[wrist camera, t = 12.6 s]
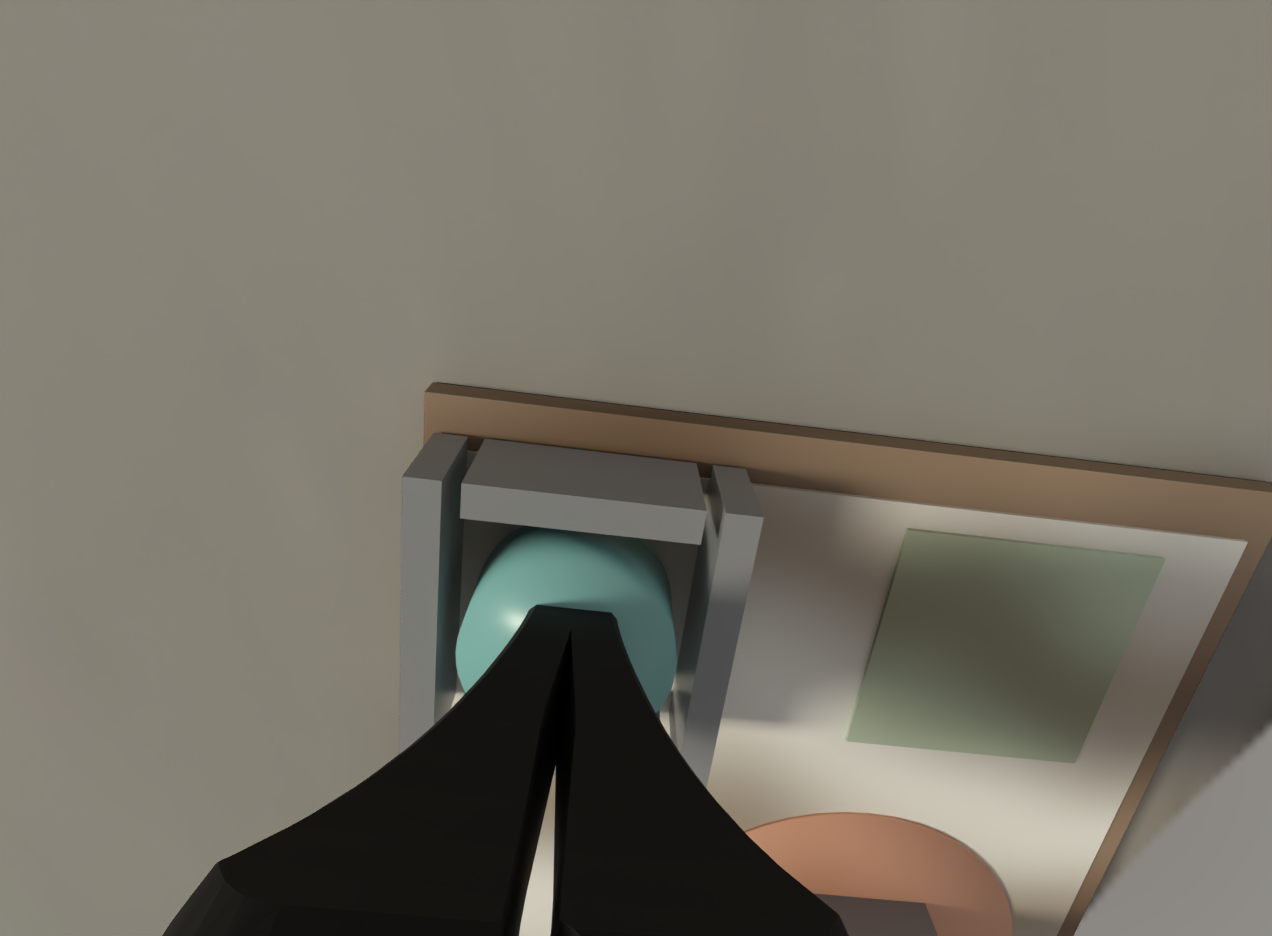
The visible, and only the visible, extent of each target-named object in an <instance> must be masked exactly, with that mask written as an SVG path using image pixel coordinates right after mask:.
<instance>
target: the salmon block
mask: <svg viewBox="0 0 1272 936" xmlns="http://www.w3.org/2000/svg"><path fill="white" fill-rule="evenodd" d="M813 894H814V893H813ZM815 895H816V896H817V897H818V898H819V899H821V900H822V901H823V902H824V903H826V904H827V905H828V906H829V907H830V908H832V909H833V910H834V911H835V912H837V913H838V914H839V916H840V917H841V919H842V921H843V924H844V926H845V928H846V930H847V933H848V935H849V936H938V935H937V932H936V930H935V927H934V925H933V922H932V920H931V917H930V915H929V912H928V909H927V907H926V904H925V903H918V902H906V901H895V900H883V899H872V898H860V897H849V896H837V895H826V894H815Z"/></svg>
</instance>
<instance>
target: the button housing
mask: <svg viewBox="0 0 1272 936" xmlns="http://www.w3.org/2000/svg"><path fill="white" fill-rule="evenodd" d="M467 445H468V437H467V436H458V435H450V434H441V433H433V434H432V436H431V437H430V439H429V440H428V441H427V443H426V444H425V446H424V447H423V448H422V450H421V451H420V452H419V454H418V455H417V457H416V458H415V459H414V461H413V462H412V464H411V465H410V466H409V468H408V469H407V470H406V472H405V473H404V475H403V476H402V526H401V613H400V700H399V754H400V753H401V752H403V751H404V750H405V749H407V748H408V747H409V746H410V745H412V744H413V743H414V742H415V741H416V740H417V739H419V738H420V737H421V736H422V735H423V734H424V733H425V732H427V731H428V730H429V729H430V728H431V727H432V726H433V725H434V724H435V723H437V722H438V721H439V720H440V719H441V718H442V717H443V716H444V715H445V714H446V713H447V712H448V711H449V710H450V709H451V706H452V703H453V700H454V697H455V694H456V684H457V666H456V645H457V638H458V635H459V619H460V597H461V575H462V554H463V532H464V519H470V520H479V521H488V522H497V523H506V524H515V525H524V526H534V527H543V528H552V529H561V530H570V531H579V532H588V533H597V534H606V535H615V536H624V537H633V538H642V539H651V540H660V541H669V542H678V543H688V544H697V545H699V546H698V552H697V558H696V563H695V569H694V574H693V580H692V586H691V591H690V597H689V602H688V608H687V614H686V619H685V625H684V630H683V636H682V642H681V647H680V653H679V658H678V664H677V670H676V675H675V681H674V686H673V692H672V698H671V703H670V709H669V724H670V738H671V740H672V741H673V743H674V744H675V746H676V747H677V749H678V750H679V752H680V753H681V755H682V756H683V758H684V759H685V760H686V762H687V763H688V765H689V766H690V767H691V769H692V770H693V772H694V773H695V774H696V776H697V777H698V778H699V780H700V781H701V782H702V783H703V785H704V786H705V787H706V788H707V783H708V779H709V774H710V769H711V765H712V760H713V755H714V750H715V746H716V741H717V736H718V732H719V727H720V722H721V717H722V713H723V708H724V703H725V698H726V694H727V689H728V684H729V680H730V675H731V670H732V665H733V661H734V656H735V651H736V646H737V642H738V637H739V632H740V628H741V623H742V618H743V613H744V609H745V604H746V599H747V595H748V590H749V585H750V580H751V576H752V571H753V566H754V561H755V557H756V552H757V547H758V543H759V538H760V533H761V528H762V524H763V519H764V517H763V514H762V511H761V508H760V506H759V503H758V500H757V498H756V495H755V492H754V490H753V487H752V484H751V482H750V479H749V476H748V474H747V471H746V469H742V468H734V467H725V466H716V465H713V468H712V474H711V479H710V485H709V490H708V496H707V502H706V504H705V500H704V495H703V491H702V486H701V481H700V477H699V472H698V467H697V463H691V462H682V461H673V460H665V459H656V458H648V457H639V456H630V455H622V454H613V453H605V452H596V451H587V450H579V449H570V448H562V447H553V446H544V445H536V444H527V443H519V442H510V441H501V440H493V439H484V441H483V443H482V445H481V447H480V449H479V451H478V453H477V455H476V456H475V458H474V460H473V462H472V464H471V466H470V468H469V470H468V472H467V474H466V467H467ZM656 714H657V716H658V718H659V719H660V709H659V710H658V712H657V713H656ZM553 776H556V766H555V770H554V775H553Z"/></svg>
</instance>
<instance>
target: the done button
mask: <svg viewBox="0 0 1272 936" xmlns="http://www.w3.org/2000/svg"><path fill="white" fill-rule="evenodd" d="M535 605H544V606H554V607H563V608H573V609H582V610H593V611H603V612H611V613H612V614H613V615H614V616H615V618H616V619H617V622H618V627H619V630H620V634H621V637H622V640H623V643H624V646H625V648H626V651H627V654H628V656H629V659H630V661H631V664H632V666H633V668H634V670H635V673H636V675H637V677H638V679H639V681H640V683H641V685H642V687H643V689H644V691H645V694H646V696H647V698H648V700H649V701H650V703H651V705H652V707H653V709H654V711H655V713H657V712H658V710H659V709H660V708H661V707H662V705H663V704H664V702H665V700H666V699H667V697H668V695H669V693H670V691H671V688H672V686H673V682H674V679H675V675H676V666H677V655H676V642H675V632H674V621H673V610H672V599H671V590H670V585H669V581H668V578H667V575H666V573H665V570H664V568H663V566H662V564H661V563H660V561H659V559H658V558H657V557H656V555H655V554H654V553H653V551H652V550H651V549H650V548H649V547H648V546H647V545H646V544H645V543H644V542H643V541H642V540H641V539H639V538H633V537H624V536H615V535H606V534H597V533H588V532H579V531H570V530H561V529H552V528H543V527H534V526H523V527H521V528H519V529H517V530H516V531H514V532H513V533H511V534H510V535H508V536H507V537H506V538H505V539H504V540H502V541H501V542H500V543H499V544H498V545H497V547H496V548H495V549H494V550H493V551H492V553H491V554H490V556H489V557H488V559H487V560H486V562H485V564H484V566H483V568H482V570H481V573H480V576H479V578H478V581H477V584H476V587H475V589H474V592H473V595H472V598H471V600H470V603H469V606H468V609H467V611H466V614H465V617H464V620H463V622H462V625H461V628H460V631H459V635H458V638H457V645H456V666H457V671H458V676H459V679H460V682H461V684H462V687H463V689H464V691H465V693H466V692H467V691H468V690H469V689H470V688H471V687H472V686H473V685H474V684H475V683H476V682H477V681H478V679H479V678H480V677H481V676H482V675H483V674H484V673H485V671H486V670H487V669H488V668H489V666H490V665H491V664H492V663H493V661H494V660H495V659H496V658H497V656H498V655H499V654H500V653H501V652H502V650H503V649H504V648H505V646H506V645H507V644H508V642H509V641H510V639H511V638H512V637H513V635H514V634H515V632H516V631H517V629H518V628H519V626H520V625H521V623H522V622H523V620H524V618H525V617H526V615H527V613H528V611H529V610H530V609H531V608H532V607H534V606H535Z"/></svg>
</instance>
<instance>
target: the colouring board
mask: <svg viewBox="0 0 1272 936" xmlns="http://www.w3.org/2000/svg"><path fill="white" fill-rule="evenodd" d="M433 433H441V434H450V435H458V436H467V437H468V445H467V467H466V474H467V472H468V470H469V468H470V466H471V464H472V462H473V460H474V458H475V456H476V455H477V453H478V451H479V449H480V447H481V445H482V443H483V441H484V439H493V440H501V441H510V442H519V443H527V444H536V445H544V446H553V447H562V448H570V449H579V450H587V451H596V452H605V453H613V454H622V455H630V456H639V457H648V458H656V459H665V460H673V461H682V462H691V463H697V467H698V472H699V477H700V481H701V486H702V491H703V495H704V500H705V504H706V502H707V496H708V490H709V485H710V479H711V474H712V468H713V465H716V466H725V467H734V468H742V469H746V471H747V474H748V476H749V479H750V482H751V484H752V487H753V490H754V492H755V495H756V498H757V500H758V503H759V506H760V508H761V511H762V514H763V517H764V519H763V524H762V528H761V533H760V538H759V543H758V547H757V552H756V557H755V561H754V566H753V571H752V576H751V580H750V585H749V590H748V595H747V599H746V604H745V609H744V613H743V618H742V623H741V628H740V632H739V637H738V642H737V646H736V651H735V656H734V661H733V665H732V670H731V675H730V680H729V684H728V689H727V694H726V698H725V703H724V708H723V713H722V717H721V722H720V727H719V732H718V736H717V741H716V746H715V750H714V755H713V760H712V765H711V769H710V774H709V779H708V783H707V788H706V789H707V790H708V791H709V792H710V794H711V795H712V796H713V797H714V799H715V800H716V801H717V802H718V803H719V804H720V806H721V807H722V808H723V809H724V810H725V811H726V812H727V813H728V814H729V815H730V816H731V818H732V819H733V820H734V821H735V822H736V823H737V824H738V825H739V826H740V827H741V829H742V830H743V831H744V832H745V833H746V834H747V835H748V836H749V837H750V838H751V839H752V840H753V841H754V842H755V843H756V844H757V845H758V846H759V847H760V848H761V849H762V850H763V851H764V852H766V853H767V854H768V855H769V856H770V857H771V858H772V859H773V860H774V861H775V862H776V863H777V864H778V865H779V866H780V867H782V868H783V869H784V870H785V871H786V872H787V873H789V874H790V875H791V876H792V877H794V878H795V879H796V880H797V881H799V882H800V883H801V884H802V885H803V886H805V887H806V888H807V889H808V890H810V891H811V892H812V893H814V894H826V895H837V896H849V897H860V898H872V899H883V900H895V901H906V902H918V903H925V904H926V907H927V909H928V912H929V915H930V917H931V920H932V922H933V925H934V927H935V930H936V932H937V935H938V936H1073V935H1074V933H1075V931H1076V929H1077V927H1078V925H1079V923H1080V921H1081V919H1082V917H1083V915H1084V913H1085V911H1086V909H1087V907H1088V905H1089V903H1090V901H1091V899H1092V897H1093V895H1094V893H1095V891H1096V889H1097V887H1098V885H1099V883H1100V881H1101V879H1102V877H1103V875H1104V873H1105V871H1106V869H1107V867H1108V865H1109V863H1110V861H1111V859H1112V857H1113V855H1114V853H1115V851H1116V849H1117V847H1118V845H1119V843H1120V841H1121V839H1122V837H1123V835H1124V833H1125V831H1126V829H1127V827H1128V825H1129V823H1130V821H1131V819H1132V817H1133V815H1134V813H1135V811H1136V809H1137V807H1138V805H1139V803H1140V801H1141V799H1142V797H1143V795H1144V793H1145V791H1146V789H1147V787H1148V785H1149V783H1150V781H1151V779H1152V777H1153V775H1154V773H1155V771H1156V769H1157V767H1158V765H1159V763H1160V761H1161V759H1162V756H1163V754H1164V752H1165V750H1166V748H1167V746H1168V744H1169V742H1170V740H1171V738H1172V736H1173V734H1174V732H1175V730H1176V728H1177V726H1178V724H1179V722H1180V720H1181V718H1182V716H1183V714H1184V712H1185V710H1186V708H1187V706H1188V704H1189V702H1190V700H1191V698H1192V696H1193V694H1194V692H1195V690H1196V688H1197V686H1198V684H1199V682H1200V680H1201V678H1202V676H1203V674H1204V672H1205V670H1206V668H1207V666H1208V664H1209V662H1210V660H1211V658H1212V656H1213V654H1214V652H1215V650H1216V648H1217V646H1218V644H1219V642H1220V640H1221V638H1222V636H1223V634H1224V632H1225V630H1226V628H1227V626H1228V624H1229V622H1230V620H1231V618H1232V616H1233V614H1234V612H1235V610H1236V608H1237V606H1238V604H1239V602H1240V600H1241V598H1242V596H1243V594H1244V592H1245V590H1246V588H1247V586H1248V584H1249V582H1250V580H1251V578H1252V576H1253V574H1254V572H1255V570H1256V568H1257V566H1258V564H1259V562H1260V560H1261V558H1262V556H1263V554H1264V552H1265V550H1266V548H1267V546H1268V544H1269V542H1270V540H1271V538H1272V484H1270V483H1268V482H1261V481H1252V480H1244V479H1236V478H1227V477H1219V476H1211V475H1202V474H1194V473H1186V472H1177V471H1169V470H1160V469H1152V468H1144V467H1135V466H1127V465H1119V464H1110V463H1102V462H1094V461H1085V460H1077V459H1069V458H1060V457H1052V456H1044V455H1035V454H1027V453H1018V452H1010V451H1002V450H993V449H985V448H977V447H968V446H960V445H952V444H943V443H935V442H927V441H918V440H910V439H902V438H893V437H885V436H877V435H868V434H860V433H851V432H843V431H835V430H826V429H818V428H810V427H801V426H793V425H785V424H776V423H768V422H760V421H751V420H743V419H735V418H726V417H718V416H709V415H701V414H693V413H684V412H676V411H668V410H659V409H651V408H643V407H634V406H626V405H618V404H609V403H601V402H593V401H584V400H576V399H567V398H559V397H551V396H542V395H534V394H526V393H517V392H509V391H501V390H492V389H484V388H476V387H467V386H459V385H451V384H442V383H434V382H433V383H432V384H431V385H430V386H429V387H428V389H427V390H426V391H425V400H424V444H423V447H424V446H425V444H426V443H427V441H428V440H429V439H430V437H431V436H432V434H433ZM523 526H524V525H515V524H506V523H497V522H488V521H479V520H470V519H464V532H463V554H462V575H461V597H460V619H459V631H460V628H461V625H462V622H463V620H464V617H465V614H466V611H467V609H468V606H469V603H470V600H471V598H472V595H473V592H474V589H475V587H476V584H477V581H478V578H479V576H480V573H481V570H482V568H483V566H484V564H485V562H486V560H487V559H488V557H489V556H490V554H491V553H492V551H493V550H494V549H495V548H496V547H497V545H498V544H499V543H500V542H501V541H502V540H504V539H505V538H506V537H507V536H508V535H510V534H511V533H513V532H514V531H516V530H517V529H519V528H521V527H523ZM639 539H641V540H642V541H643V542H644V543H645V544H646V545H647V546H648V547H649V548H650V549H651V550H652V551H653V553H654V554H655V555H656V557H657V558H658V559H659V561H660V563H661V564H662V566H663V568H664V570H665V573H666V575H667V578H668V581H669V585H670V590H671V599H672V610H673V621H674V632H675V642H676V655H677V664H678V658H679V653H680V647H681V642H682V636H683V630H684V625H685V619H686V614H687V608H688V602H689V597H690V591H691V586H692V580H693V574H694V569H695V563H696V558H697V552H698V546H699V545H697V544H688V543H678V542H669V541H660V540H651V539H642V538H639ZM676 670H677V666H676ZM674 681H675V679H674ZM673 686H674V682H673ZM673 686H672V688H671V691H670V693H669V695H668V697H667V699H666V700H665V702H664V704H663V705H662V707H661V708H660V721H661V723H662V725H663V726H664V728H665V730H666V731H667V733H668V735H669V736H670V724H669V709H670V703H671V698H672V692H673ZM464 694H465V691H464V689H463V687H462V684H461V682H460V679H459V676H458V671H457V684H456V694H455V697H454V700H453V703H452V706H451V708H452V707H453V706H454V705H455V704H456V703H457V702H458V701H459V700H460V699H461V698H462V697H463V695H464ZM555 777H556V776H553V779H552V784H551V788H550V792H549V797H548V801H547V806H546V810H545V814H544V819H543V823H542V827H541V832H540V836H539V841H538V845H537V849H536V854H535V858H534V862H533V867H532V871H531V875H530V880H529V884H528V889H527V893H526V898H525V903H524V909H523V914H522V919H521V925H520V932H519V936H550V935H551V924H552V907H553V879H554V826H555Z"/></svg>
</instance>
